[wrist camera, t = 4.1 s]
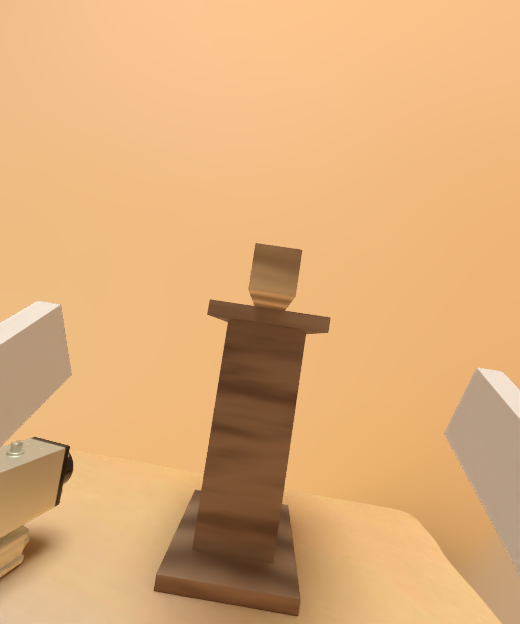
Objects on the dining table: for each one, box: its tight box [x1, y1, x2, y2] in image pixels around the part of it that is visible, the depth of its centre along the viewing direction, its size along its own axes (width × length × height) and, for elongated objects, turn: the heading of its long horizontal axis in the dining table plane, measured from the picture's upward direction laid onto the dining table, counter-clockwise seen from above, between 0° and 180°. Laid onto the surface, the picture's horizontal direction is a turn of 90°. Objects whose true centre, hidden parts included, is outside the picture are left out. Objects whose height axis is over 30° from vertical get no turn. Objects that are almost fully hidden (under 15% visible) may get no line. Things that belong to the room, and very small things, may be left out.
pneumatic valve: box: [0, 437, 73, 577], centre depth 33 cm, size 6×12×12 cm, turn 168°
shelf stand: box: [154, 300, 330, 616], centre depth 42 cm, size 20×14×28 cm
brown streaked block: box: [249, 243, 302, 311], centre depth 36 cm, size 30×3×3 cm, turn 179°
